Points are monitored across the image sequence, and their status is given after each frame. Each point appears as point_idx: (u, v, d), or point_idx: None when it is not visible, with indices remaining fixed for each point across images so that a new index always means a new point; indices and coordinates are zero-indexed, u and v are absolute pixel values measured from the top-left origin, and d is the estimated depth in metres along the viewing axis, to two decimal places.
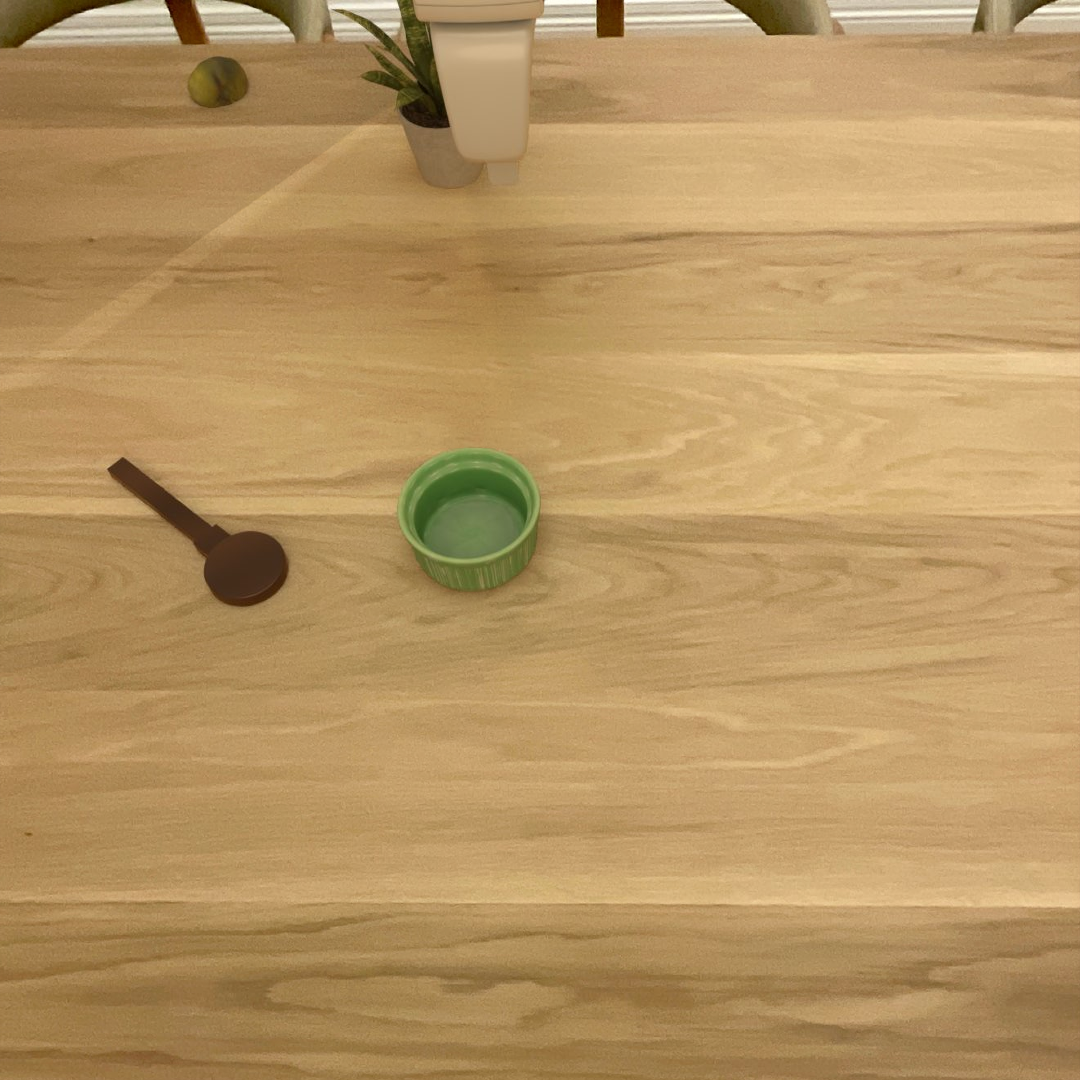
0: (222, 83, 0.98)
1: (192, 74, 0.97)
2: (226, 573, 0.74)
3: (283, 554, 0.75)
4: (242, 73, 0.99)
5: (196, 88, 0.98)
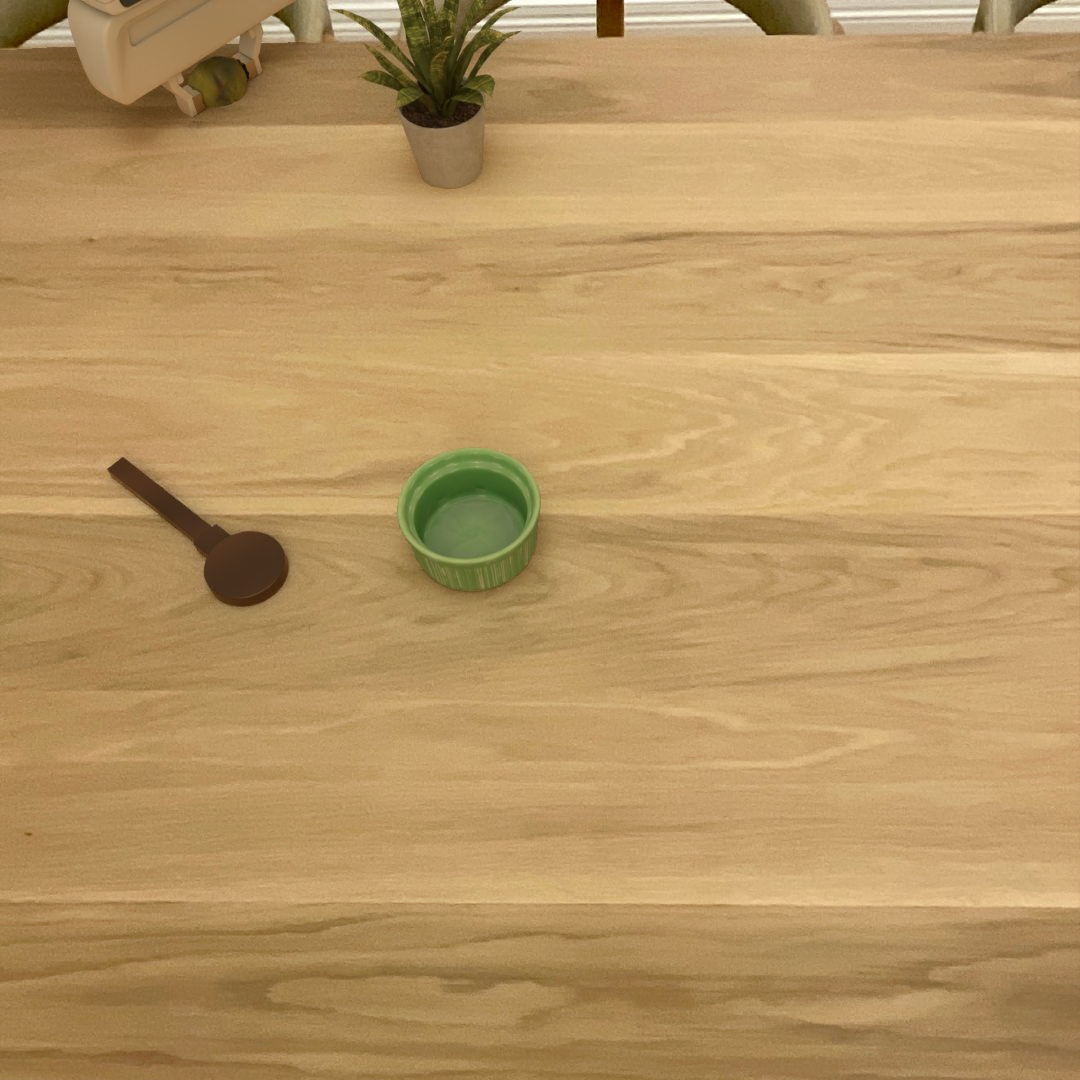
0: (222, 83, 0.98)
1: (192, 74, 0.97)
2: (226, 573, 0.74)
3: (283, 554, 0.75)
4: (243, 73, 0.99)
5: (196, 88, 0.98)
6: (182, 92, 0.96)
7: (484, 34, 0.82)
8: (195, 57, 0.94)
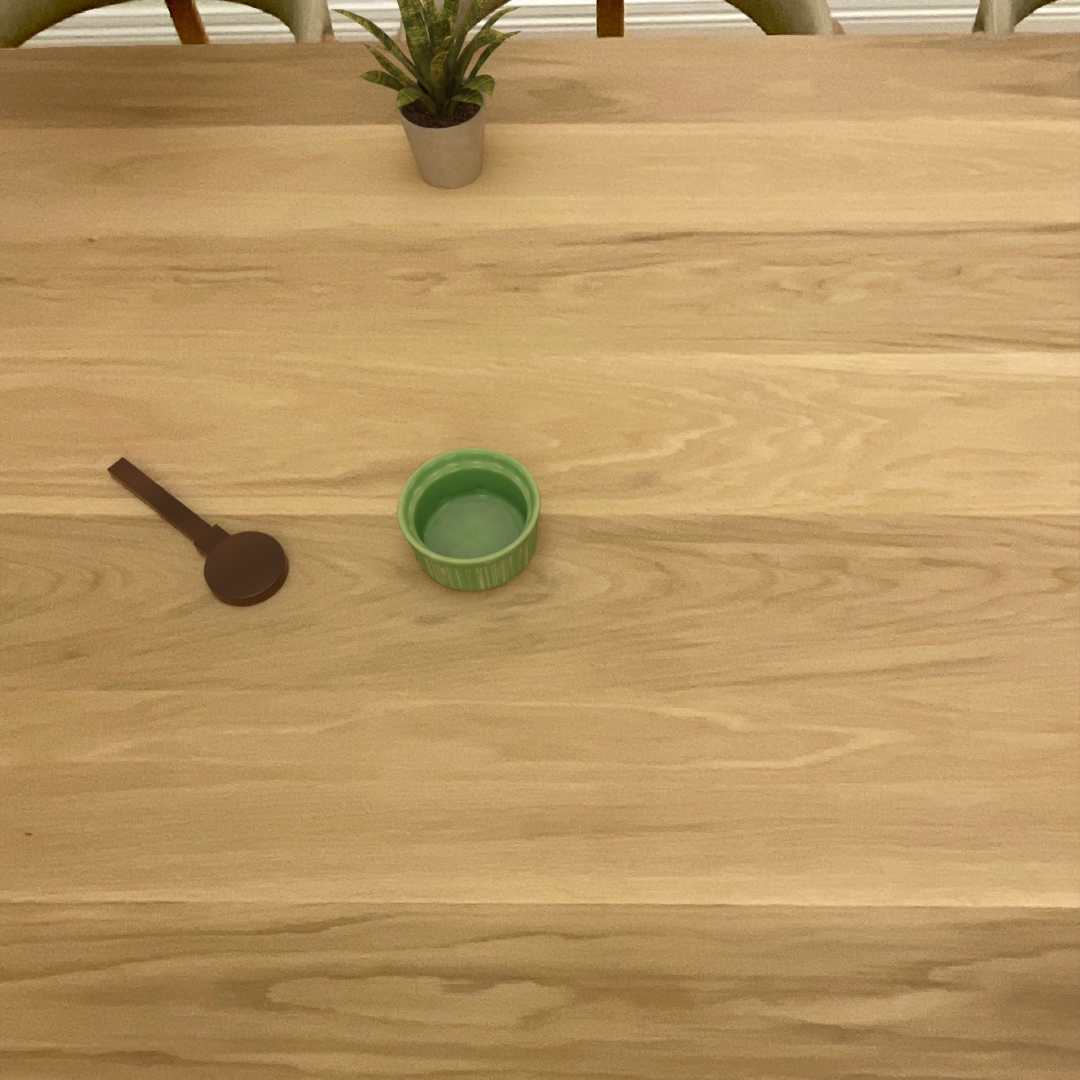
0: None
1: None
2: (226, 573, 0.74)
3: (283, 554, 0.75)
4: None
5: None
6: None
7: (484, 34, 0.82)
8: None
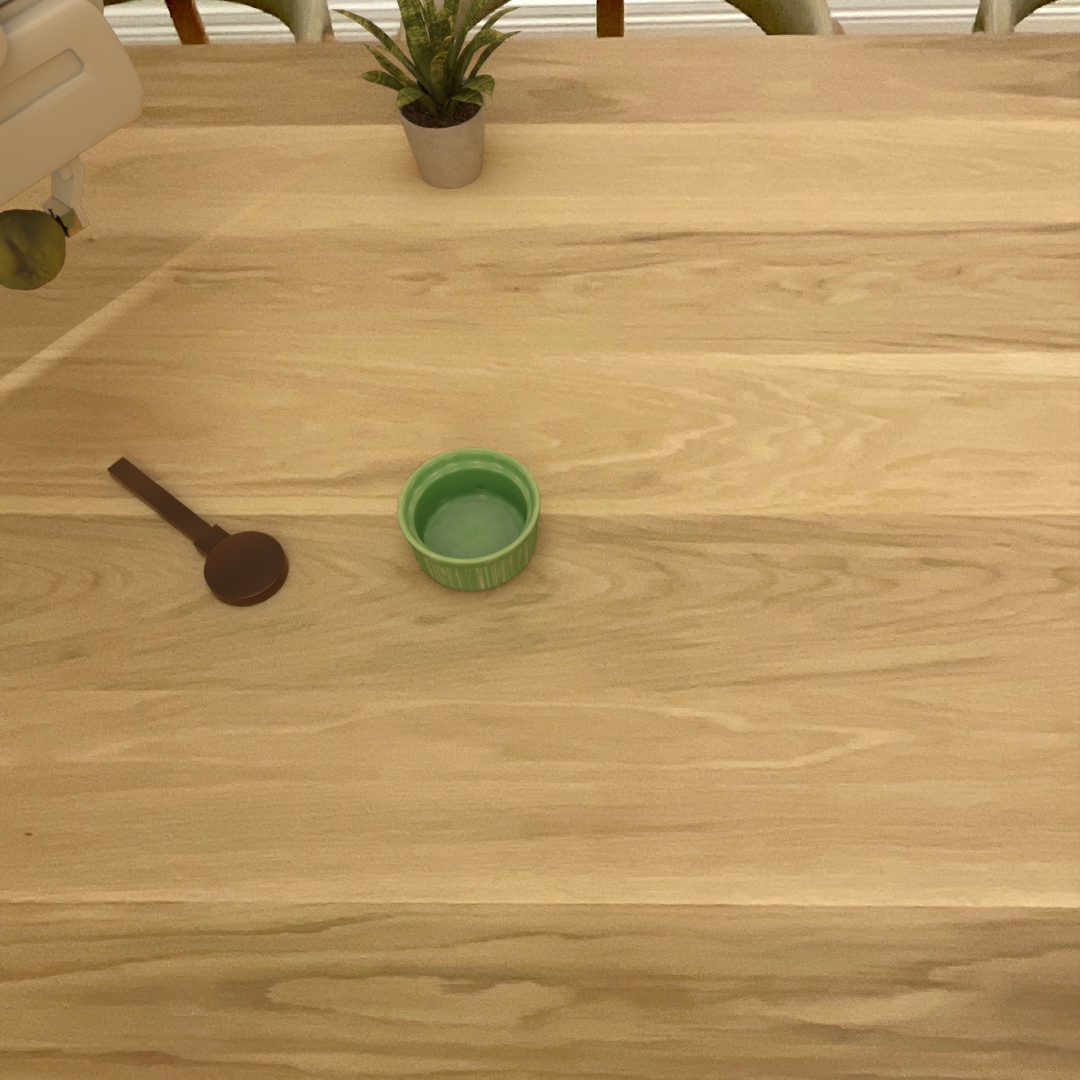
0: (21, 250, 0.64)
1: None
2: (226, 573, 0.74)
3: (283, 554, 0.75)
4: (56, 230, 0.66)
5: None
6: None
7: (484, 34, 0.82)
8: None
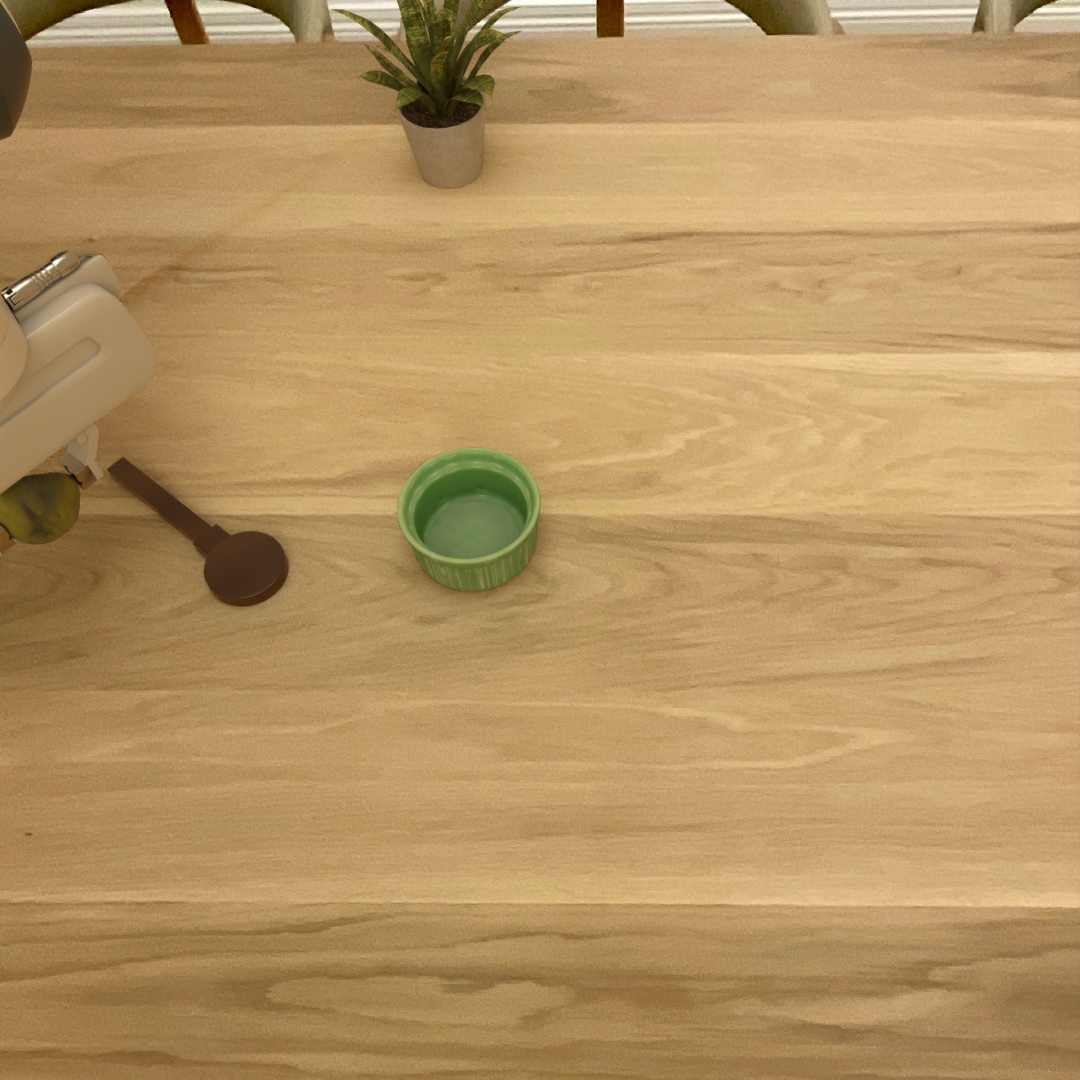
0: (37, 514, 0.66)
1: None
2: (226, 573, 0.74)
3: (283, 554, 0.75)
4: (71, 490, 0.68)
5: None
6: None
7: (484, 34, 0.82)
8: None
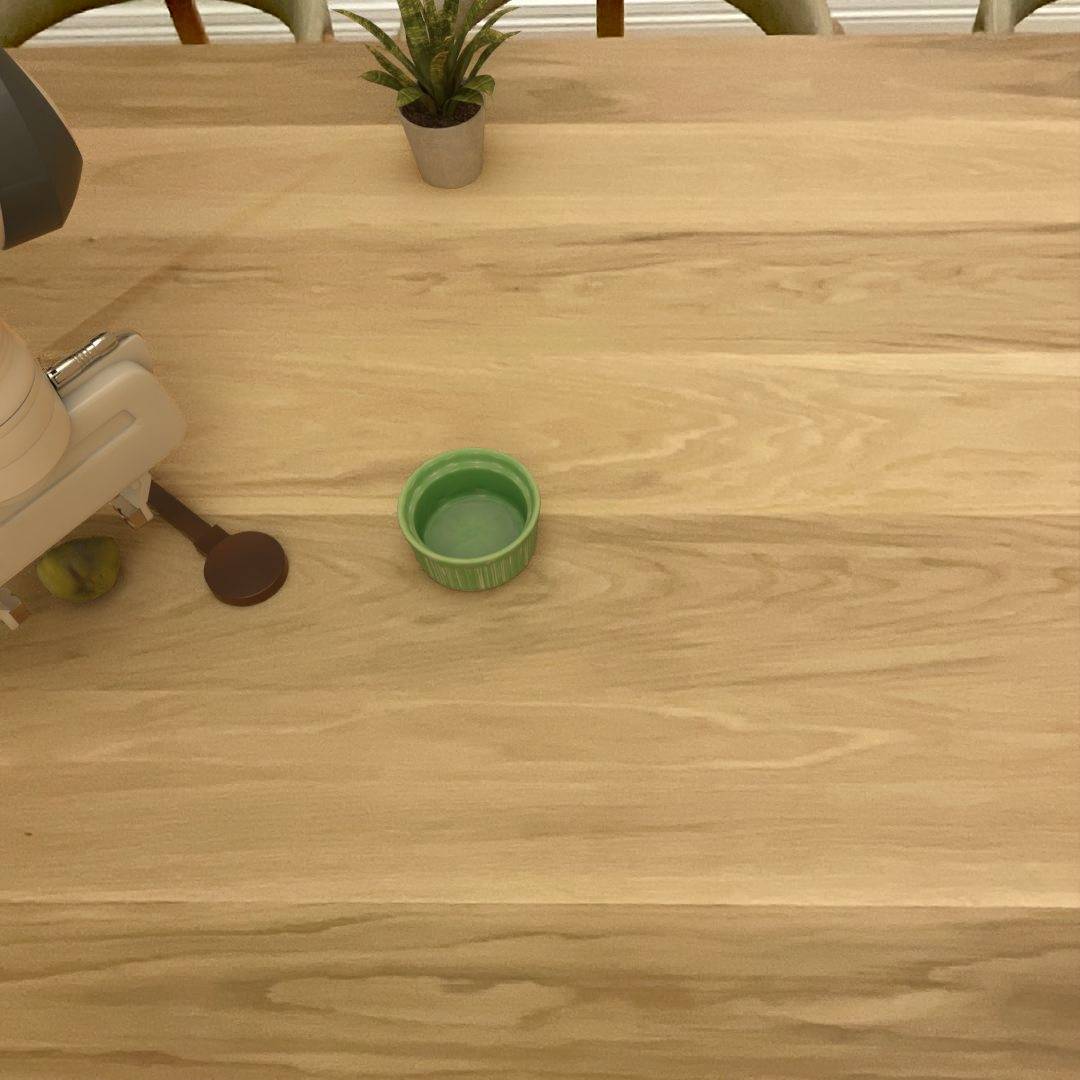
0: (81, 576, 0.72)
1: (41, 563, 0.71)
2: (226, 573, 0.74)
3: (283, 554, 0.75)
4: (112, 552, 0.73)
5: (46, 581, 0.72)
6: None
7: (484, 34, 0.82)
8: (29, 559, 0.67)
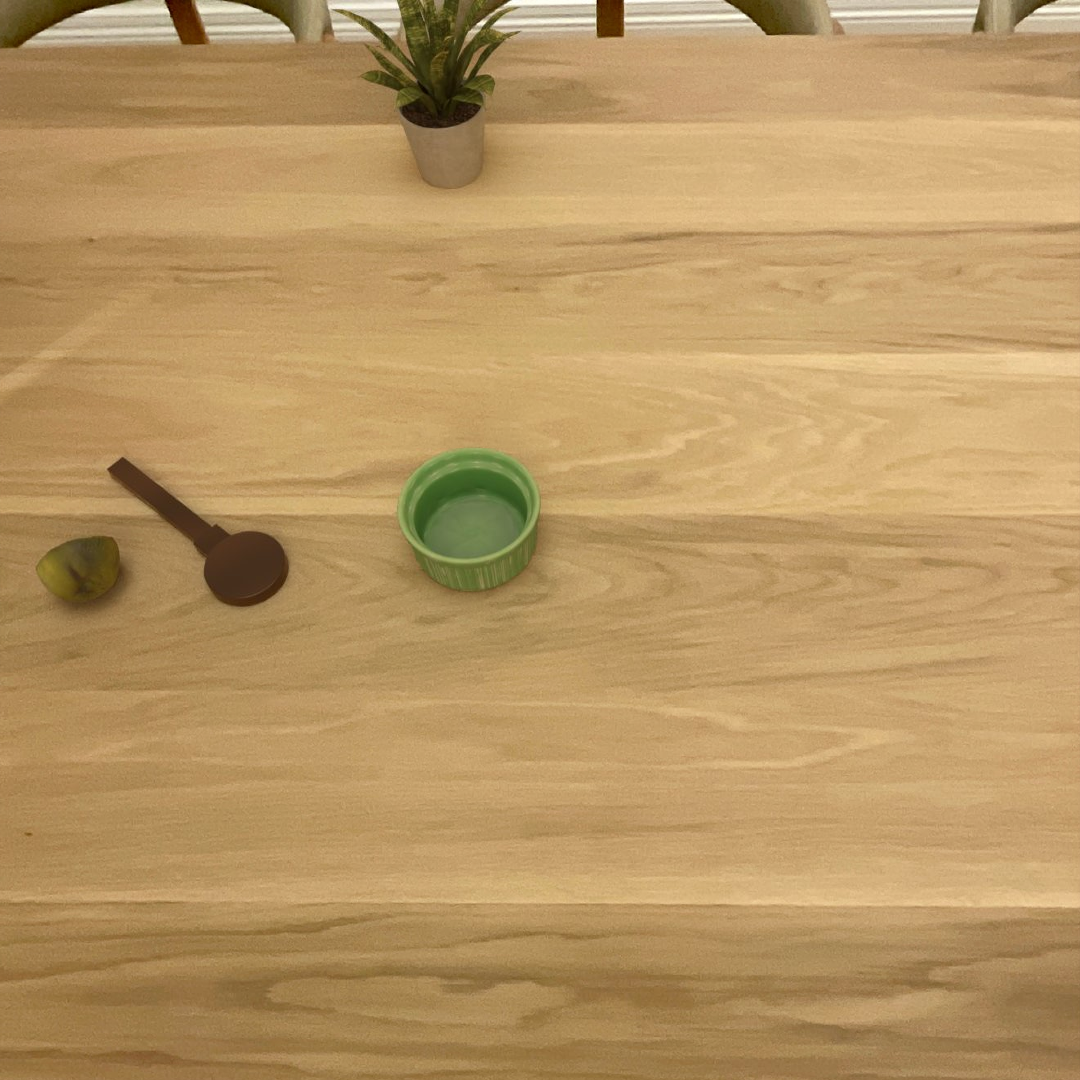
0: (81, 576, 0.72)
1: (41, 563, 0.71)
2: (226, 573, 0.74)
3: (283, 554, 0.75)
4: (112, 552, 0.73)
5: (46, 581, 0.72)
6: None
7: (484, 34, 0.82)
8: None
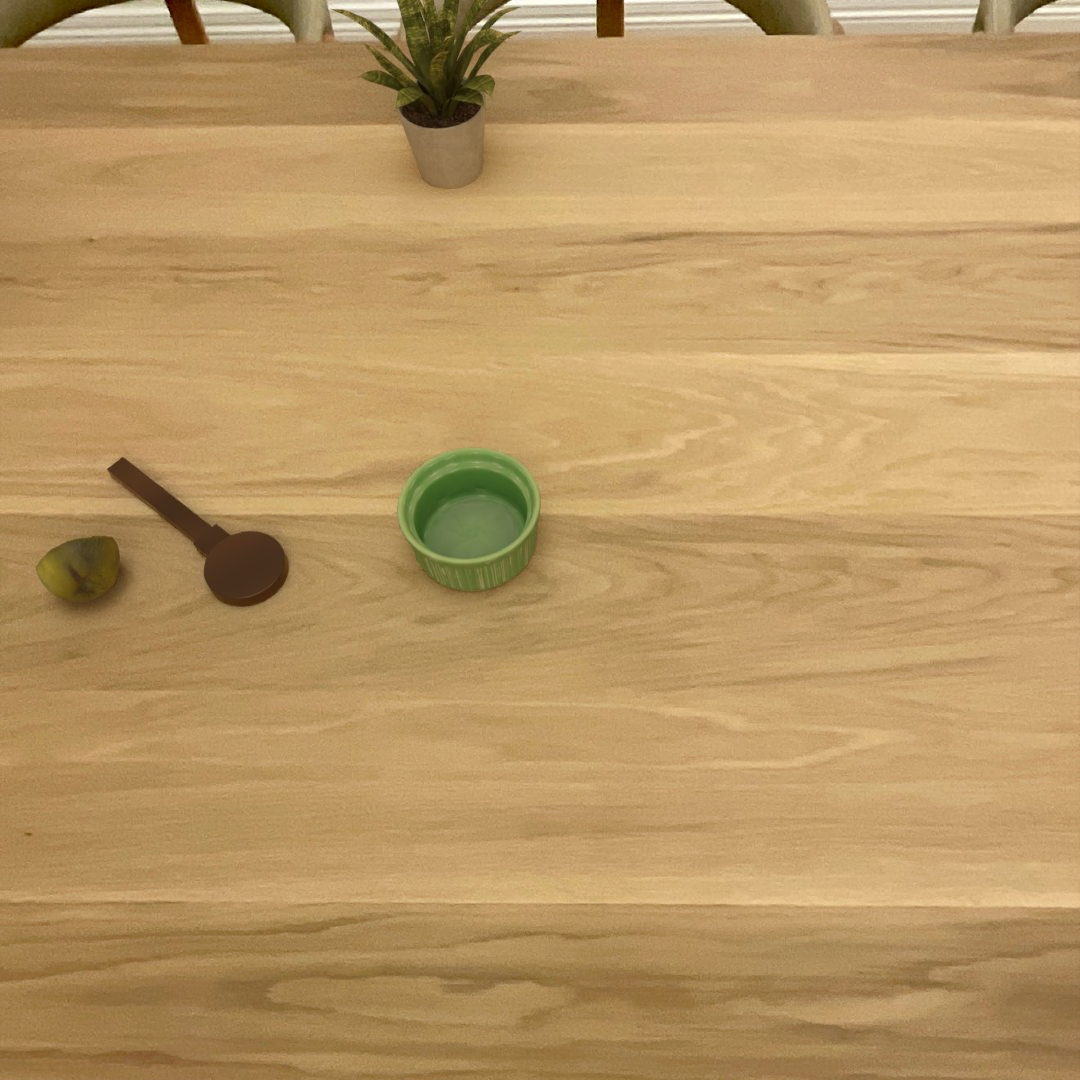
0: (81, 576, 0.72)
1: (41, 563, 0.71)
2: (226, 573, 0.74)
3: (283, 554, 0.75)
4: (112, 552, 0.73)
5: (46, 581, 0.72)
6: None
7: (484, 34, 0.82)
8: None
